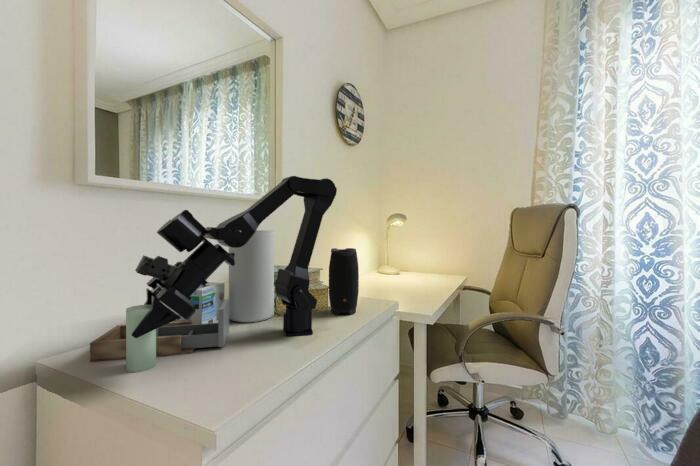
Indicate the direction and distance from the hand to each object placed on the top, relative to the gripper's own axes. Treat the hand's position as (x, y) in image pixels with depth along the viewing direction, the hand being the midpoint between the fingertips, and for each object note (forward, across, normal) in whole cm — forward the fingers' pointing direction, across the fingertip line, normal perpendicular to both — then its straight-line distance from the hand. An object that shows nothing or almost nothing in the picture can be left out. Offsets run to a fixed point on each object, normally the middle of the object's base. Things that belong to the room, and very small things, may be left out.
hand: (132, 332), depth 57 cm
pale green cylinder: (+4, 0, +6) cm, 7 cm away
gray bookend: (-3, -7, +12) cm, 14 cm away
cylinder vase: (-16, -19, +26) cm, 36 cm away
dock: (+2, -10, +8) cm, 13 cm away
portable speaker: (-33, -7, +43) cm, 55 cm away
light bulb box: (-7, -19, +16) cm, 26 cm away
